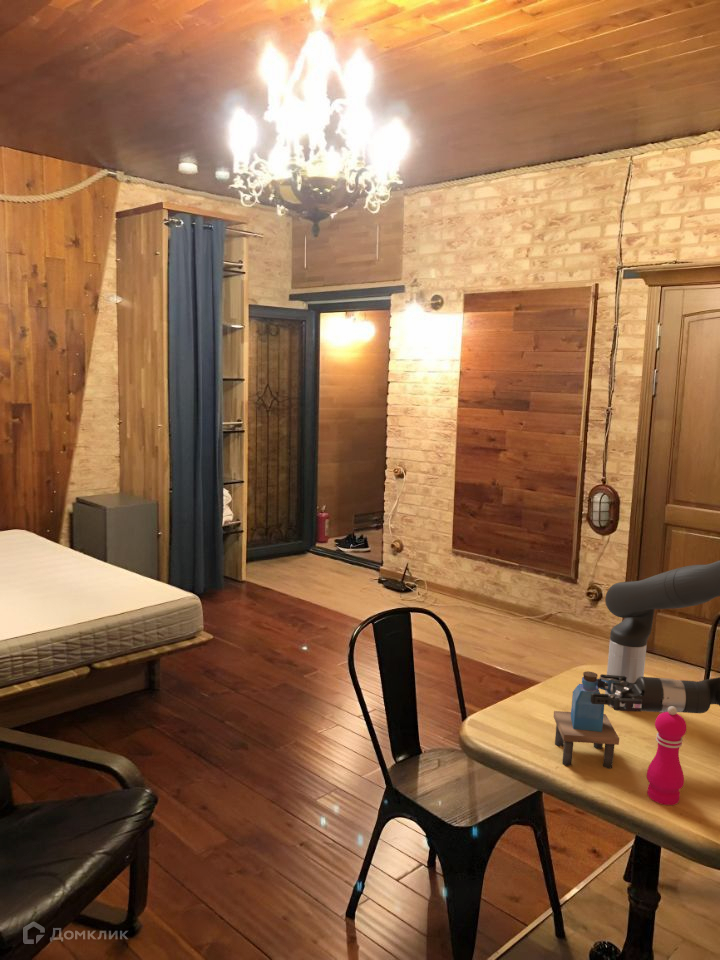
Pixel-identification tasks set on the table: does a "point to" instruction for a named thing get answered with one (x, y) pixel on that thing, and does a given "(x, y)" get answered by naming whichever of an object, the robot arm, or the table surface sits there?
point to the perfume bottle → (586, 705)
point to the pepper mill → (667, 759)
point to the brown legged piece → (584, 738)
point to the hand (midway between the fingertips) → (586, 690)
